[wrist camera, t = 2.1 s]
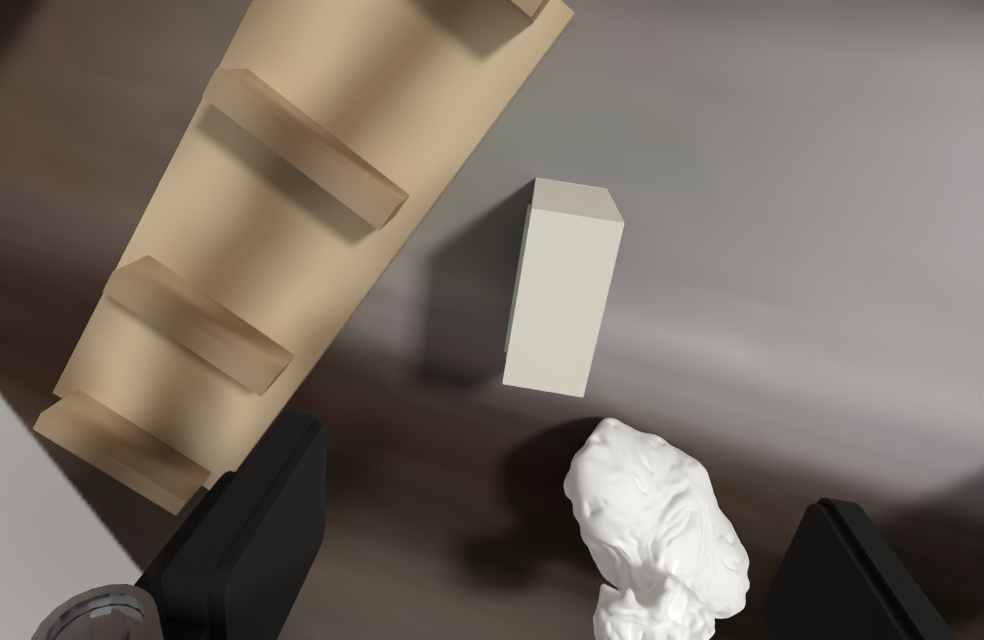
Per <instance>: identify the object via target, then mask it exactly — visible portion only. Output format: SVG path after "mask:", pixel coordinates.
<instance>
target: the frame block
mask: <svg viewBox="0 0 984 640" xmlns="http://www.w3.org/2000/svg"><path fill="white" fill-rule="evenodd" d="M623 227H624V221H623V219H622V217H621V215H620V213H619V211H618V209H617V207H616V205H615V203H614V201H613V199H612V197H611V196H610V194H609V192H608V190H607V189H606V188H600V187H593V186H587V185H580V184H574V183H568V182H561V181H555V180H549V179H542V178H536V180H535V186H534V192H533V198H532V204H528V208H527V214H526V220H525V226H524V232H523V238H522V244H521V250H520V256H519V262H518V268H517V275H516V281H515V287H514V293H513V299H512V305H511V311H510V317H509V323H508V329H507V335H506V341H505V348H504V352H507V357H506V363H505V370H504V377H503V383H502V384H506V385H512V386H518V387H524V388H530V389H536V390H542V391H548V392H554V393H560V394H565V395H571V396H577V397H583V396H584V392H585V388H586V384H587V379H588V375H589V371H590V367H591V363H592V358H593V354H594V350H595V346H596V341H597V337H598V333H599V329H600V324H601V320H602V316H603V312H604V307H605V303H606V299H607V295H608V290H609V286H610V282H611V278H612V274H613V269H614V265H615V261H616V257H617V252H618V248H619V244H620V240H621V235H622V231H623Z"/></svg>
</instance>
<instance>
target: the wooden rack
mask: <svg viewBox="0 0 984 640" xmlns="http://www.w3.org/2000/svg"><path fill="white" fill-rule="evenodd" d="M574 14H575V13H574V12H573V11H572V10H571V9H570V8H569V7H568V6H566V5H565V4H564V3H563V2H562V1H561V0H253V1H252V3H251V5H250V7H249V9H248V11H247V13H246V14H245V16H244V18H243V20H242V22H241V24H240V26H239V28H238V30H237V32H236V34H235V36H234V38H233V40H232V42H231V44H230V46H229V48H228V50H227V52H226V54H225V56H224V58H223V60H222V62H221V64H220V66H219V67H218V69H216V70H215V72H214V74H213V75H212V77H211V79H210V81H209V83H208V85H207V87H206V89H205V91H204V93H203V95H202V97H203V99H202V101H201V103H200V105H199V107H198V109H197V111H196V113H195V115H194V117H193V119H192V120H191V122H190V124H189V126H188V128H187V130H186V132H185V134H184V136H183V138H182V140H181V142H180V144H179V146H178V148H177V150H176V152H175V154H174V156H173V158H172V160H171V162H170V164H169V166H168V168H167V170H166V172H165V173H164V175H163V177H162V179H161V181H160V183H159V185H158V187H157V189H156V191H155V193H154V195H153V197H152V199H151V201H150V203H149V205H148V207H147V209H146V211H145V213H144V215H143V217H142V219H141V221H140V223H139V224H138V226H137V228H136V230H135V232H134V234H133V236H132V238H131V240H130V242H129V244H128V246H127V248H126V250H125V252H124V254H123V256H122V258H121V260H120V262H119V264H118V266H117V268H116V270H114V271H113V272H112V274H111V276H110V278H109V280H108V282H107V284H106V286H105V288H104V290H103V292H104V293H103V295H102V297H101V299H100V301H99V303H98V305H97V307H96V309H95V311H94V313H93V315H92V317H91V319H90V321H89V323H88V325H87V327H86V329H85V330H84V332H83V334H82V336H81V338H80V340H79V342H78V344H77V346H76V348H75V350H74V352H73V354H72V356H71V358H70V360H69V362H68V364H67V366H66V368H65V370H64V372H63V374H62V376H61V378H60V380H59V382H58V383H57V385H56V387H55V389H54V391H53V393H54V394H56V395H57V396H59V397H61V398H62V400H60V401H59V402H57V403H56V404H54V405H53V406H51V407H50V408H48V409H47V410H45V411H44V412H42V413H41V414H40V416H39V418H38V420H37V422H36V424H35V426H34V428H33V429H34V430H35V431H37V432H39V433H40V434H42V435H43V436H45V437H47V438H48V439H50V440H52V441H53V442H55V443H57V444H58V445H60V446H62V447H63V448H65V449H67V450H68V451H70V452H72V453H73V454H75V455H77V456H78V457H80V458H81V459H83V460H85V461H86V462H88V463H90V464H91V465H93V466H95V467H96V468H98V469H100V470H101V471H103V472H105V473H106V474H108V475H110V476H111V477H113V478H114V479H116V480H118V481H119V482H121V483H123V484H124V485H126V486H128V487H129V488H131V489H133V490H134V491H136V492H138V493H139V494H141V495H143V496H144V497H146V498H147V499H149V500H151V501H152V502H154V503H156V504H157V505H159V506H161V507H162V508H164V509H166V510H167V511H169V512H171V513H172V514H174V515H177V514H178V513H179V512H180V511H181V510H182V508H183V507H184V506H185V505H186V504H187V502H188V501H189V500H190V499H191V498H192V497H193V495H194V494H195V493H196V492H197V491H198V489H199V488H200V487H201V486H204V487H205V488H207V489H208V490H210V489H211V488H212V487H213V485H214V484H215V483H216V482H217V480H218V479H219V478H220V477H221V476H222V475H223V474H224V473H226V472H228V471H234V472H236V471H237V470H238V468H239V467H240V466H241V464H242V463H243V462H244V460H245V459H246V458H247V456H248V455H249V454H250V452H251V451H252V450H253V448H254V447H255V445H256V444H257V443H258V441H259V440H260V439H261V437H262V436H263V435H264V433H265V432H266V431H267V429H268V428H269V427H270V425H271V424H272V423H273V421H274V420H275V419H276V417H277V416H278V414H279V413H280V412H281V410H282V409H283V408H284V406H285V405H286V404H287V402H288V401H289V400H290V398H291V397H292V396H293V394H294V393H295V392H296V390H297V389H298V388H299V386H300V385H301V383H302V382H303V381H304V379H305V378H306V377H307V375H308V374H309V373H310V371H311V370H312V369H313V367H314V366H315V365H316V363H317V362H318V361H319V359H320V358H321V357H322V355H323V354H324V352H325V351H326V350H327V348H328V347H329V346H330V344H331V343H332V342H333V340H334V339H335V338H336V336H337V335H338V334H339V332H340V331H341V330H342V328H343V327H344V326H345V324H346V323H347V321H348V320H349V319H350V317H351V316H352V315H353V313H354V312H355V311H356V309H357V308H358V307H359V305H360V304H361V303H362V301H363V300H364V299H365V297H366V296H367V295H368V293H369V292H370V290H371V289H372V288H373V286H374V285H375V284H376V282H377V281H378V280H379V278H380V277H381V276H382V274H383V273H384V272H385V270H386V269H387V268H388V266H389V265H390V264H391V262H392V261H393V260H394V258H395V257H396V255H397V254H398V253H399V251H400V250H401V249H402V247H403V246H404V245H405V243H406V242H407V241H408V239H409V238H410V237H411V235H412V234H413V233H414V231H415V230H416V229H417V227H418V226H419V224H420V223H421V222H422V220H423V219H424V218H425V216H426V215H427V214H428V212H429V211H430V210H431V208H432V207H433V206H434V204H435V203H436V202H437V200H438V199H439V198H440V196H441V195H442V193H443V192H444V191H445V189H446V188H447V187H448V185H449V184H450V183H451V181H452V180H453V179H454V177H455V176H456V175H457V173H458V172H459V171H460V169H461V168H462V167H463V165H464V164H465V162H466V161H467V160H468V158H469V157H470V156H471V154H472V153H473V152H474V150H475V149H476V148H477V146H478V145H479V144H480V142H481V141H482V140H483V138H484V137H485V136H486V134H487V133H488V131H489V130H490V129H491V127H492V126H493V125H494V123H495V122H496V121H497V119H498V118H499V117H500V115H501V114H502V113H503V111H504V110H505V109H506V107H507V106H508V105H509V103H510V102H511V100H512V99H513V98H514V96H515V95H516V94H517V92H518V91H519V90H520V88H521V87H522V86H523V84H524V83H525V82H526V80H527V79H528V78H529V76H530V75H531V74H532V72H533V71H534V70H535V68H536V67H537V65H538V64H539V63H540V61H541V60H542V59H543V57H544V56H545V55H546V53H547V52H548V51H549V49H550V48H551V47H552V45H553V44H554V43H555V41H556V40H557V39H558V37H559V36H560V34H561V33H562V32H563V30H564V29H565V28H566V26H567V25H568V24H569V22H570V21H571V20H572V18H573V16H574Z"/></svg>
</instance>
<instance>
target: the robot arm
mask: <svg viewBox="0 0 984 640" xmlns="http://www.w3.org/2000/svg"><path fill="white" fill-rule="evenodd" d="M326 459H327V424H326V423H322V422H319V418H318V415H317V414H314V413H308V412H301V411H295V410H286V411H285V412H284V413H283V415H282V416H281V417H280V419H279V420H278V421H277V423H276V424H275V425H274V427H273V428H272V429H271V431H270V432H269V433H268V435H267V436H266V437H265V438H264V440H263V441H262V442H261V444H260V445H259V446H258V448H257V449H256V450H255V452H254V453H253V454H252V456H251V457H250V458H249V460H248V461H247V462H246V464H245V465H244V466H243V467H242V469H241V470H240V471H239V472H234V471H228V472H226V473H224V474H223V475H222V476H221V477H220V478H219V479H218V480H217V482H216V483H215V484H214V485H213V487H212V488H211V489H210V490H209V492H208V493H207V494H206V495H205V497H204V498H203V499H202V500H201V502H200V503H199V504H198V505H197V507H196V508H195V509H194V510H193V512H192V513H191V514H190V515H189V517H188V518H187V519H186V520H185V522H184V523H183V524H182V526H181V527H180V528H179V529H178V531H177V532H176V533H175V534H174V536H173V537H172V538H171V539H170V541H169V542H168V543H167V544H166V546H165V547H164V548H163V549H162V551H161V552H160V553H159V554H158V556H157V557H156V558H155V559H154V561H153V562H152V563H151V564H150V566H149V567H148V568H147V570H146V571H145V572H144V573H143V575H142V576H141V577H140V578H139V580H138V581H137V582H136V583H135V585H134V586H132V585H128V584H120V585H119V584H117V585H106V586H102V587H98V588H94V589H90V590H88V591H86V592H84V593H81V594H79V595H77V596H75V597H72V598H71V599H69V600H68V601H66V602H65V603H63V604H62V605H60V606H59V607H57V608H56V609H55V610H54V611H53V612H52V613H51V614H50V615H49V616H48V617H47V618H46V619H44V620H43V621H42V622H41V624H40V625H39V627H38V629H37V630H36V632H35V633H34V635H33V637H32V639H31V640H277V638H278V636H279V634H280V632H281V630H282V627H283V625H284V623H285V621H286V619H287V617H288V615H289V612H290V610H291V608H292V606H293V604H294V602H295V600H296V598H297V595H298V593H299V591H300V589H301V587H302V585H303V583H304V580H305V578H306V576H307V574H308V572H309V570H310V568H311V566H312V563H313V561H314V559H315V557H316V555H317V553H318V551H319V548H320V546H321V543H322V540H323V536H324V529H325V497H326ZM762 615H763V621H764V624H765V627H766V629H767V632H768V634H769V637H770V639H771V640H958V639H957V638H956V636H955V635H954V633H953V632H952V631H951V629H950V628H949V627H948V625H947V624H946V623H945V621H944V620H943V618H942V617H941V616H940V614H939V613H938V612H937V610H936V609H935V607H934V606H933V605H932V603H931V602H930V601H929V599H928V598H927V597H926V595H925V594H924V592H923V591H922V590H921V588H920V587H919V586H918V584H917V583H916V581H915V580H914V579H913V577H912V576H911V575H910V573H909V572H908V571H907V569H906V568H905V566H904V565H903V564H902V562H901V561H900V560H899V558H898V557H897V555H896V554H895V553H894V551H893V550H892V549H891V547H890V546H889V545H888V543H887V542H886V540H885V539H884V538H883V536H882V535H881V534H880V532H879V531H878V529H877V528H876V527H875V525H874V524H873V523H872V521H871V520H870V519H869V517H868V516H867V514H866V513H865V512H864V510H863V509H862V508H861V507H860V506H859V505H858V504H856V503H854V502H849V501H842V500H836V499H830V498H821V499H820V500H819V501H818V502H817V503H816V504H811V505H809V506H808V508H807V510H806V512H805V514H804V516H803V518H802V520H801V522H800V525H799V527H798V529H797V531H796V533H795V535H794V538H793V540H792V542H791V544H790V546H789V548H788V550H787V553H786V555H785V557H784V559H783V561H782V563H781V566H780V568H779V570H778V572H777V574H776V576H775V578H774V581H773V583H772V585H771V587H770V589H769V591H768V593H767V596H766V598H765V600H764V603H763V608H762Z"/></svg>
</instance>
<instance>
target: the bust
mask: <svg viewBox="0 0 984 640" xmlns="http://www.w3.org/2000/svg"><path fill="white" fill-rule="evenodd" d="M564 491H565V495H566V496H567V497H568V498H569V499H570V500H571V501H572V504H573V514H574V516H575V518H576V519H577V521H578V522H579V524H580V532H581V537H582V539H583V541H584V543H585V544H586V545H587V546H588V548H589V551H590V553H591V555H592V558H593V560H594V561H595V562H596V565H597V567H598V569H599V570H600V572H601V574H602V575H603V577H604V578H605V579H607V580H608V581H609V582H610V583H612V584H613V585H614V586H616V587H617V588H618V590H616V589H613V588H611V587H610V586H608V585H606V584H602V585H601V588H600V595H599V600H598V605H597V609H596V612H595V614H594V616H593V623H594V635H595V639H596V640H709V639H710V638H711V637H712V636H713V635H714V633H715V628H714V626H715V619H714V618H718V619H724V618H729V617H731V616H733V615H735V614H737V613H738V612H740V611H741V610H743V609H744V607H745V604H746V599H745V594H746V592H747V591H748V589H749V579H748V576H747V570H748V566H749V559H748V555H747V553H746V550H745V549H744V547H743V545H742V544H741V543H740V540H739V539H738V537H737V535H736V533H735V531H734V528H733V526H732V524H731V523H730V521H729V520H728V519H727V518H726V517H725V515H724V514H723V513H722V512H721V510H720V509H719V507H718V504H717V500H716V498H715V495H714V493H713V489H712V486H711V483H710V480H709V476H708V473H707V471H706V469H705V468H704V467H703V466H702V465H701V464H700V463H699V462H698V461H697V460H696V459H694V458H692V457H690V456H689V455H687V454H685V453H684V452H683V451H681V450H679V449H677V448H675V447H673V446H671V445H670V444H668V443H667V442H666V441H665V440H664V439H662V438H661V437H659V436H657V435H653V434H648V433H643V432H639V431H637V430H635V429H633V428H631V427H630V426H628V425H625V424H623V423H622V422H620V421H619V420H617V419H614V418H605V419H603V420H601V421H600V423H599V424H598V426H597V427H596V428H595V430H594V431H593V432H592V434H591V435H590V436H589V438H588V439H587V441H586V443H585V445H584V446H583V447H582V448H581V449H580V450H579V451H578V452H577V453H576V454H575V455H574V457H573V459H572V462H571V467H570V470H569V472H568V474H567V475H566V478H565V481H564Z"/></svg>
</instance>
